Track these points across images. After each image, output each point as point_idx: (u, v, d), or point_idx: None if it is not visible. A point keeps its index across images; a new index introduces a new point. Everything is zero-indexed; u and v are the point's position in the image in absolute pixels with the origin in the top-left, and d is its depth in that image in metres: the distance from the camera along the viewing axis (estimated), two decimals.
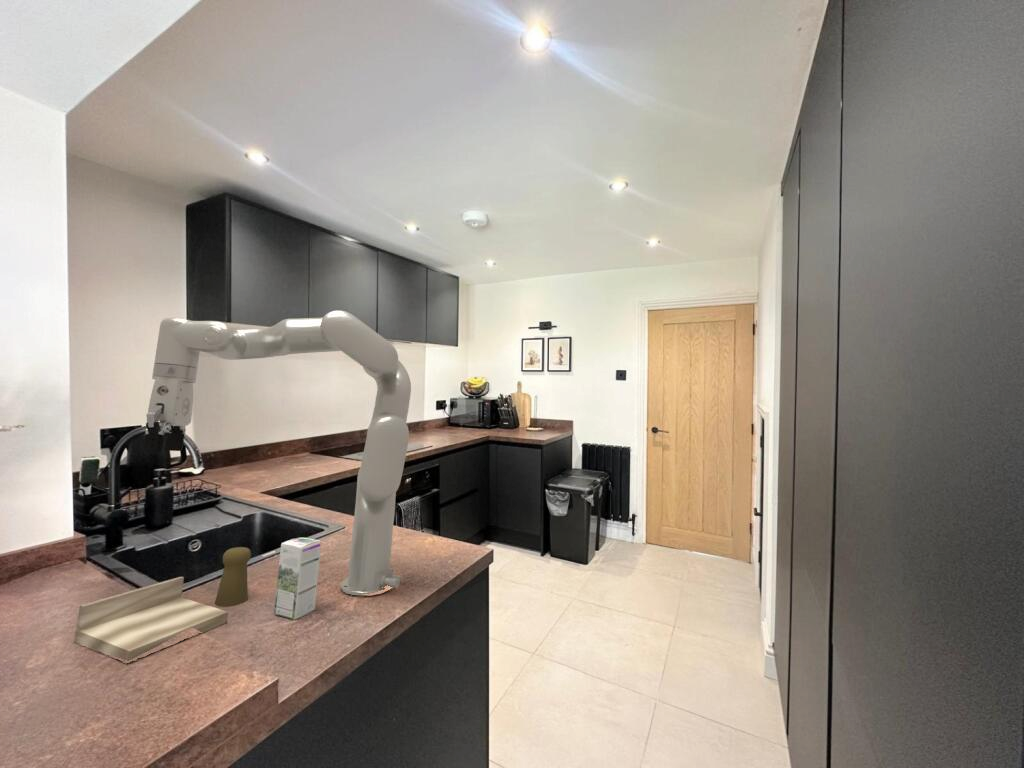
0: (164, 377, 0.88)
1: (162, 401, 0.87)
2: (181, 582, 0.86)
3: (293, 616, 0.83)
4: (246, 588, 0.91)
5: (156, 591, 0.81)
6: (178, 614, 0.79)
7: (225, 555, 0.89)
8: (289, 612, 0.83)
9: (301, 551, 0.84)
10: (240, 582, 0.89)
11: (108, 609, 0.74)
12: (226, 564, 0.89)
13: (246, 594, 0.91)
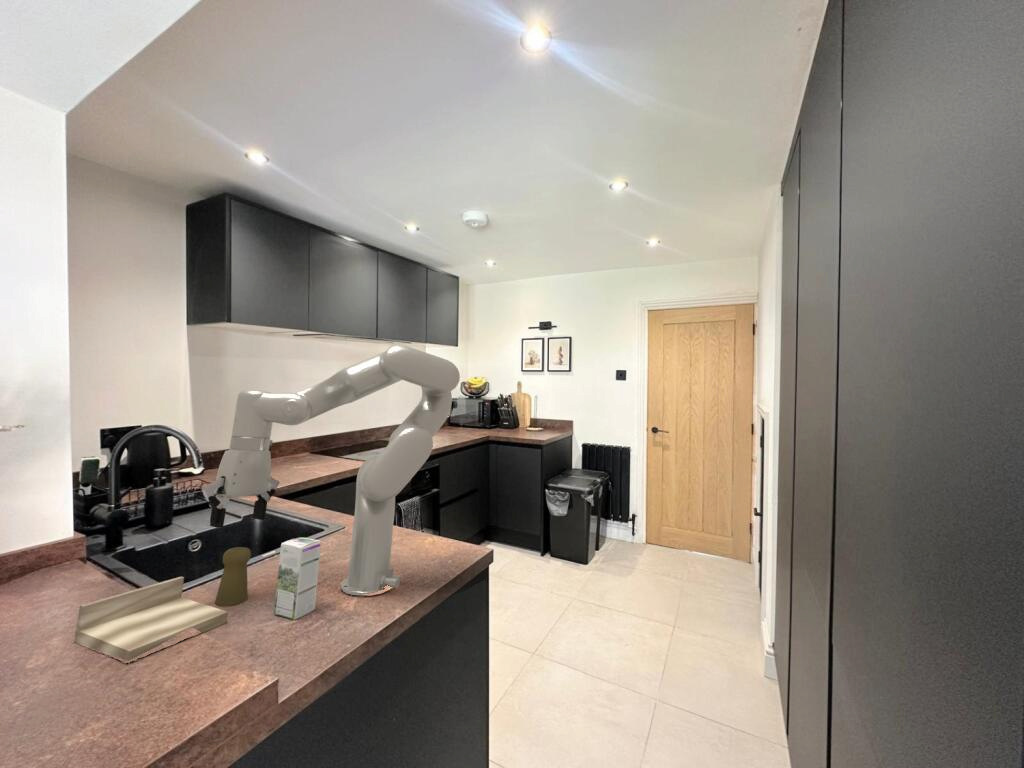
0: None
1: None
2: (181, 582, 0.86)
3: (293, 616, 0.83)
4: (246, 588, 0.91)
5: (156, 591, 0.81)
6: (178, 614, 0.79)
7: (225, 555, 0.89)
8: (289, 612, 0.83)
9: (301, 551, 0.84)
10: (240, 582, 0.89)
11: (108, 609, 0.74)
12: (226, 564, 0.89)
13: (246, 594, 0.91)
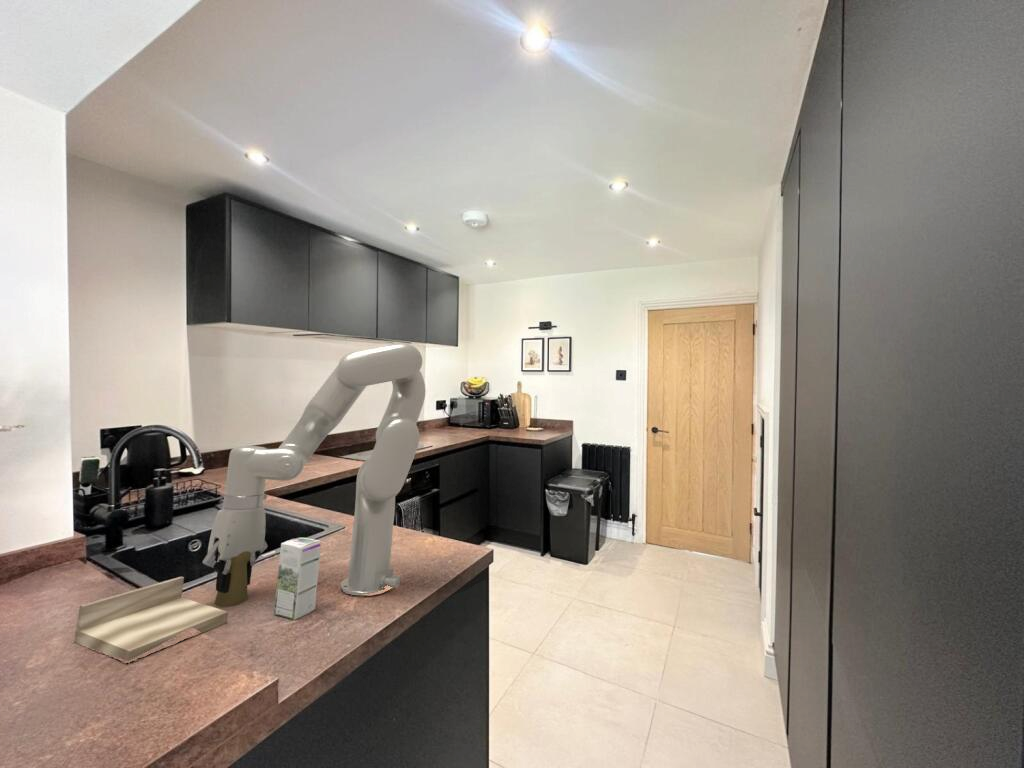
0: None
1: None
2: (181, 582, 0.86)
3: (293, 616, 0.83)
4: (246, 588, 0.91)
5: (156, 591, 0.81)
6: (178, 614, 0.79)
7: None
8: (289, 612, 0.83)
9: (301, 551, 0.84)
10: (240, 582, 0.89)
11: (108, 609, 0.74)
12: None
13: (246, 594, 0.91)
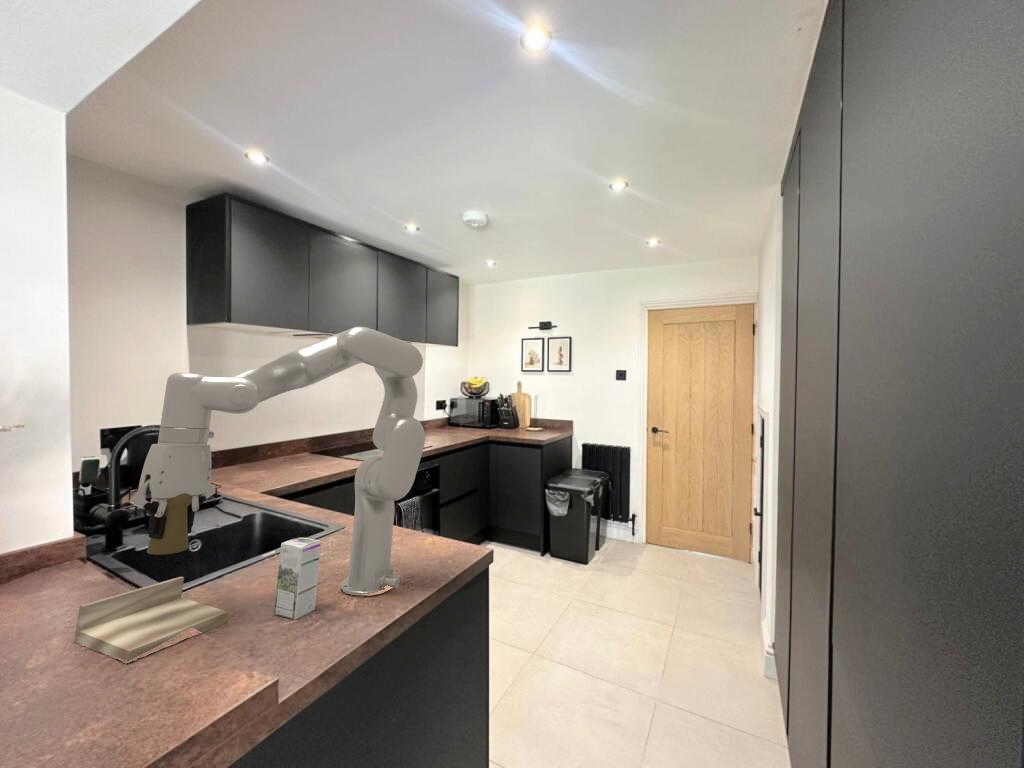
0: None
1: None
2: (181, 582, 0.86)
3: (293, 616, 0.83)
4: (185, 536, 0.78)
5: (156, 591, 0.81)
6: (178, 614, 0.79)
7: None
8: (289, 612, 0.83)
9: (301, 551, 0.84)
10: (178, 527, 0.77)
11: (108, 609, 0.74)
12: None
13: (185, 543, 0.78)
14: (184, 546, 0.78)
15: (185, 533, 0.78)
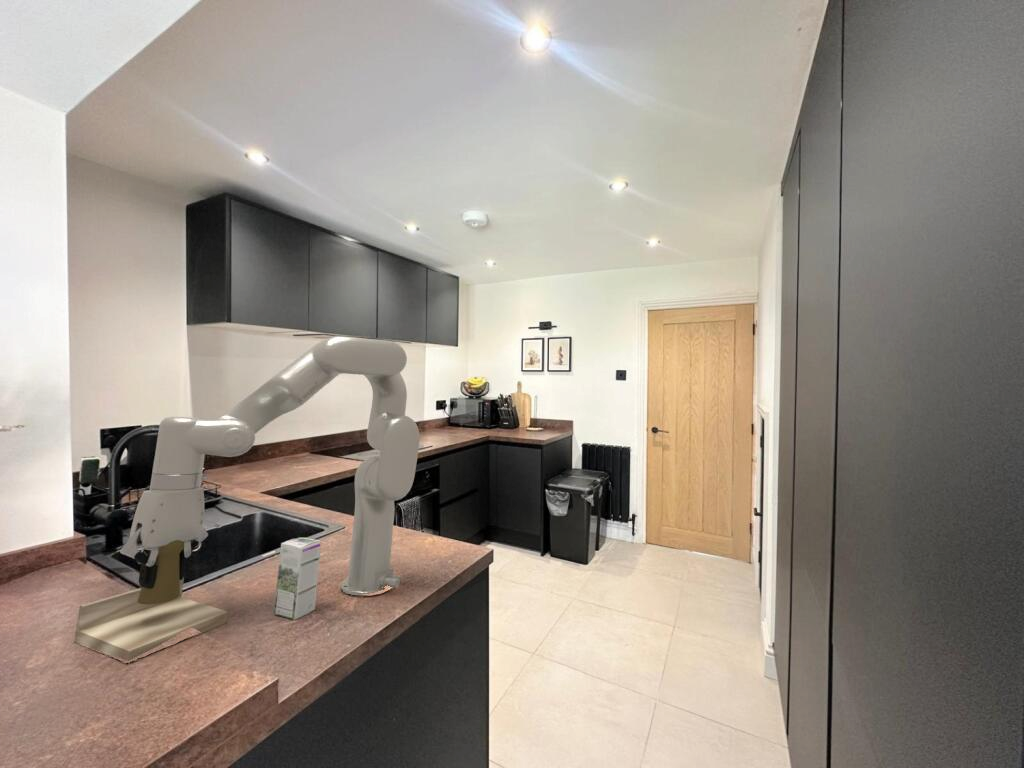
0: None
1: None
2: (181, 582, 0.86)
3: (293, 616, 0.83)
4: (177, 583, 0.77)
5: None
6: (178, 614, 0.79)
7: None
8: (289, 612, 0.83)
9: (301, 551, 0.84)
10: (169, 575, 0.76)
11: (108, 609, 0.74)
12: None
13: (177, 590, 0.77)
14: (176, 594, 0.77)
15: (177, 580, 0.77)
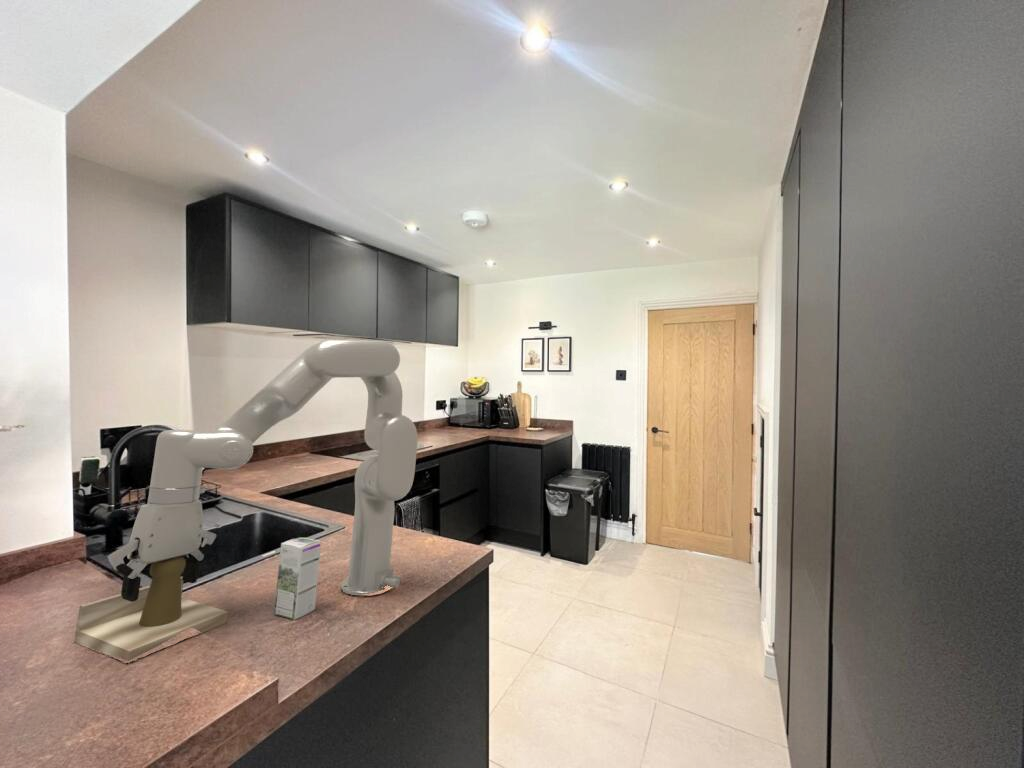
0: None
1: None
2: (181, 582, 0.86)
3: (293, 616, 0.83)
4: (179, 604, 0.77)
5: None
6: None
7: (152, 566, 0.75)
8: (289, 612, 0.83)
9: (301, 551, 0.84)
10: (171, 597, 0.76)
11: (108, 609, 0.74)
12: (153, 576, 0.75)
13: (178, 611, 0.77)
14: (177, 615, 0.77)
15: (178, 602, 0.77)
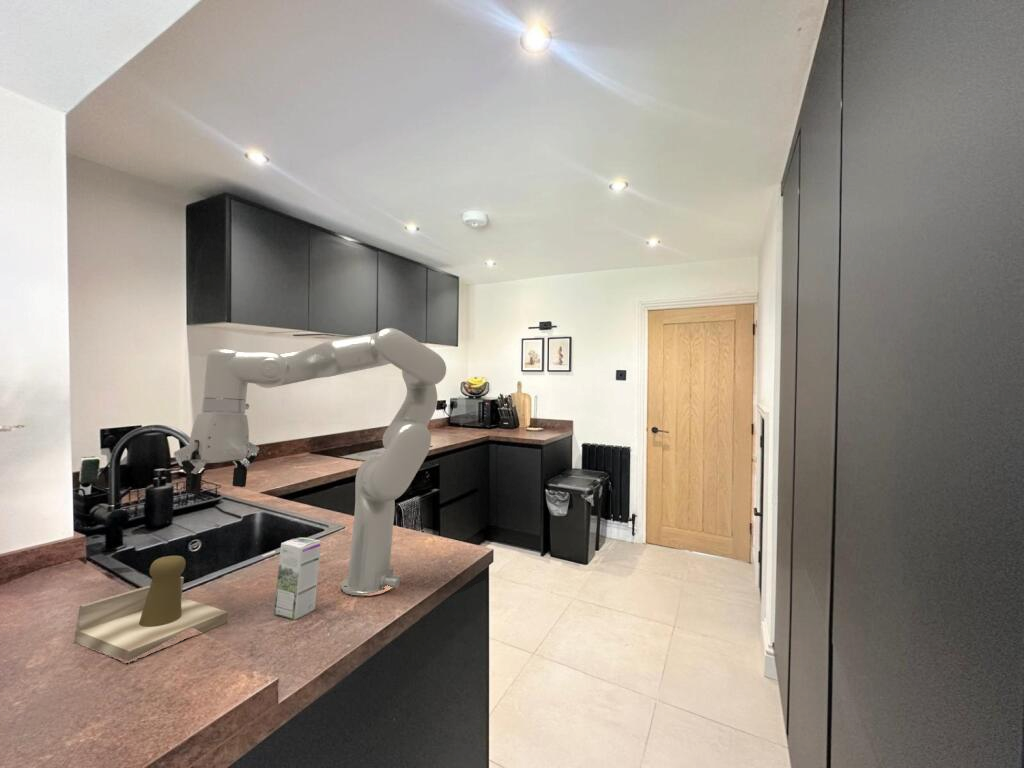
0: None
1: None
2: (181, 582, 0.86)
3: (293, 616, 0.83)
4: (179, 604, 0.77)
5: None
6: None
7: (152, 566, 0.75)
8: (289, 612, 0.83)
9: (301, 551, 0.84)
10: (171, 597, 0.76)
11: (108, 609, 0.74)
12: (153, 576, 0.75)
13: (178, 611, 0.77)
14: (177, 615, 0.77)
15: (178, 601, 0.77)
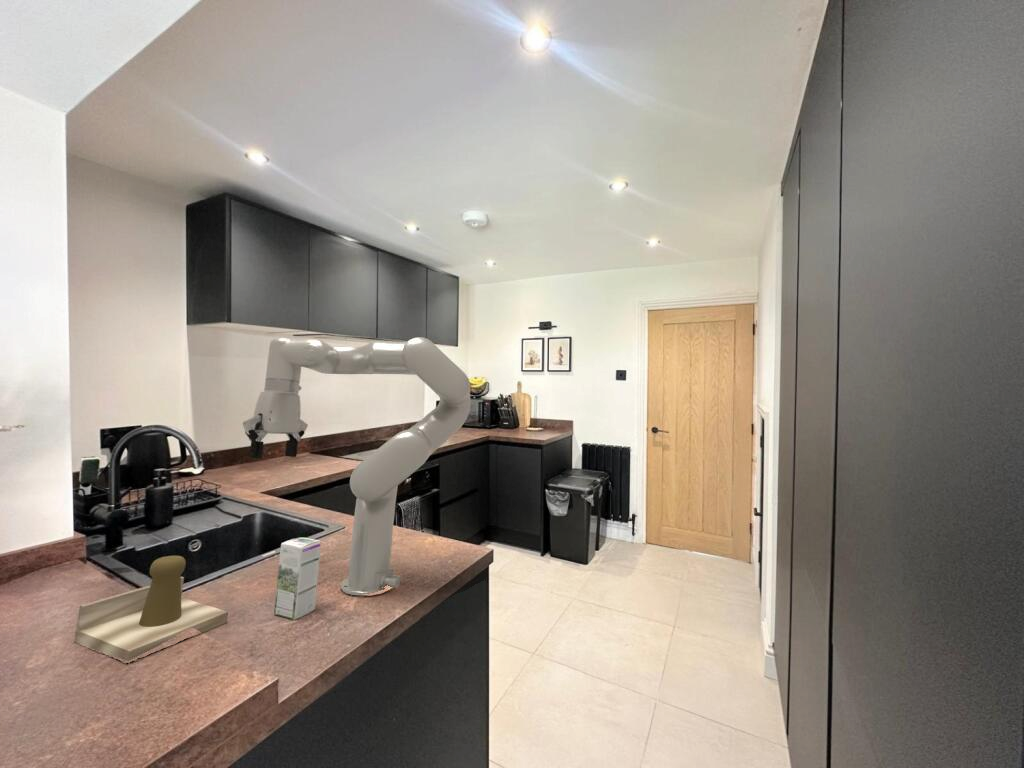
0: None
1: None
2: (181, 582, 0.86)
3: (293, 616, 0.83)
4: (179, 604, 0.77)
5: None
6: None
7: (152, 566, 0.75)
8: (289, 612, 0.83)
9: (301, 551, 0.84)
10: (171, 597, 0.76)
11: (108, 609, 0.74)
12: (153, 576, 0.75)
13: (178, 611, 0.77)
14: (177, 615, 0.77)
15: (178, 602, 0.77)
